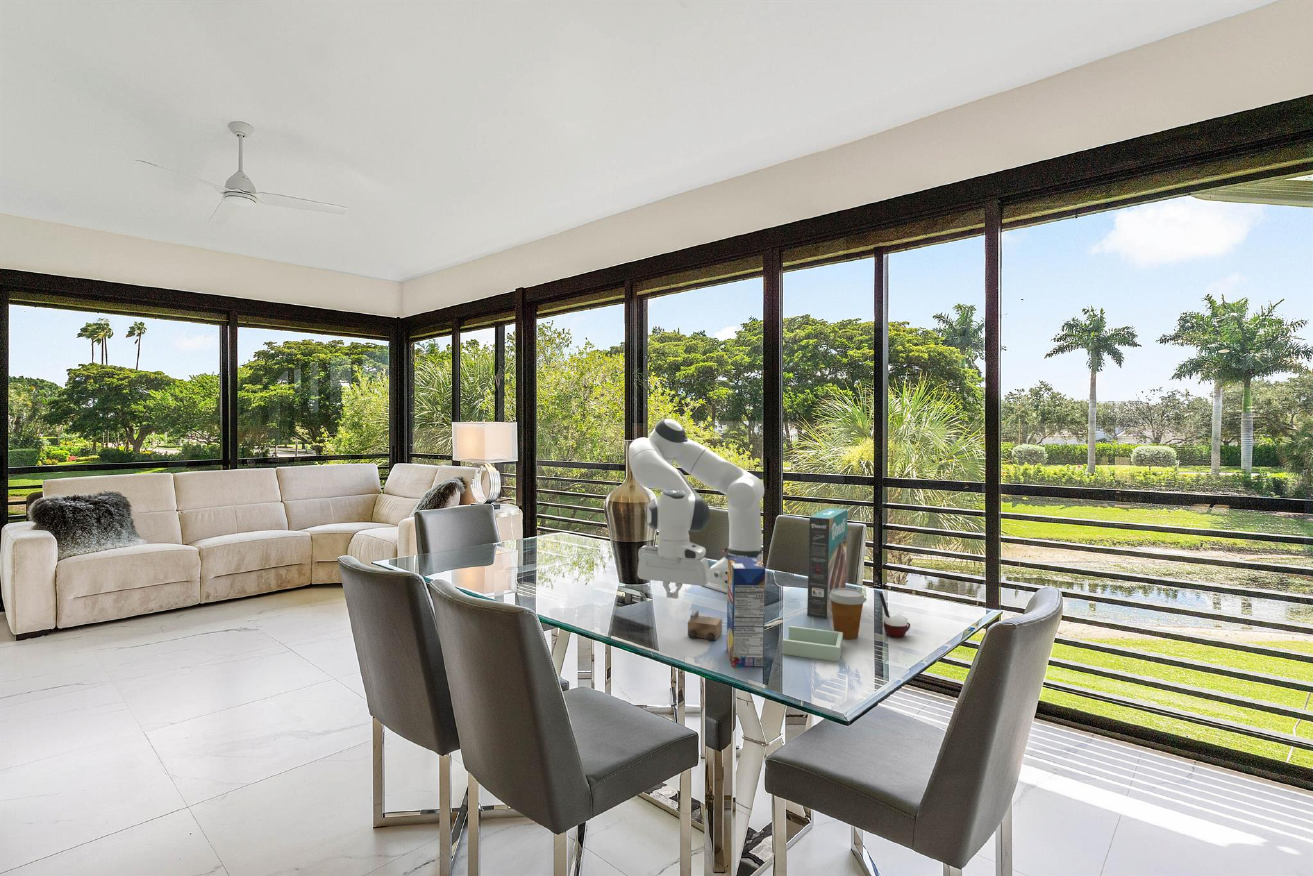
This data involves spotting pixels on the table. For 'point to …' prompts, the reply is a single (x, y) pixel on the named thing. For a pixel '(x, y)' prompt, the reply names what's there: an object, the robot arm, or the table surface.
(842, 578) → the cake mix box
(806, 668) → the table surface
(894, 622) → the cocoa
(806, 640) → the bay
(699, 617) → the cart
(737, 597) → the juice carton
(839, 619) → the disposable coffee cup
